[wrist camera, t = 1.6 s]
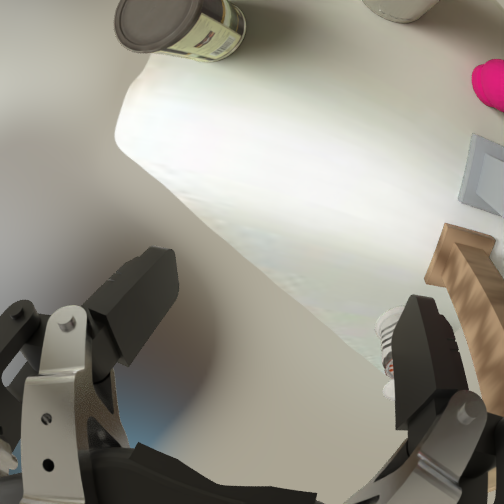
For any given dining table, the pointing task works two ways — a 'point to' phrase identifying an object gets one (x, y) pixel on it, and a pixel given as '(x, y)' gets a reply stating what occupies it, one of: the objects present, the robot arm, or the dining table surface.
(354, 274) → the dining table surface
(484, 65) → the pepper mill
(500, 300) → the walnut stand
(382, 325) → the french press
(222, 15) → the coffee can
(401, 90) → the dining table surface
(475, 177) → the slate pedestal
